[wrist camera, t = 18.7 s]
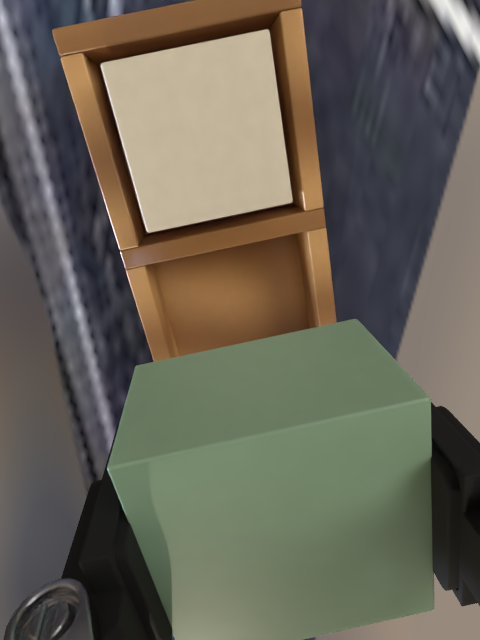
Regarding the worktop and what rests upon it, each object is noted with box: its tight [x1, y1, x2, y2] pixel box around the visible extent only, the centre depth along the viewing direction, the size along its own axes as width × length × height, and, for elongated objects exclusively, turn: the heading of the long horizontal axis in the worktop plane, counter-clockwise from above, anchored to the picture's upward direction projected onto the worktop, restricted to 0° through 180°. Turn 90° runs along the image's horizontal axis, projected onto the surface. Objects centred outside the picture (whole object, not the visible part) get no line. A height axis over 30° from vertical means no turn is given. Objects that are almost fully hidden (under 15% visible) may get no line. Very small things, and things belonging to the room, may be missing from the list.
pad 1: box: [101, 29, 293, 233], centre depth 16 cm, size 6×6×4 cm
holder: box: [52, 0, 337, 362], centre depth 19 cm, size 16×8×3 cm, turn 11°
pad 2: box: [107, 319, 434, 640], centre depth 10 cm, size 6×6×4 cm
